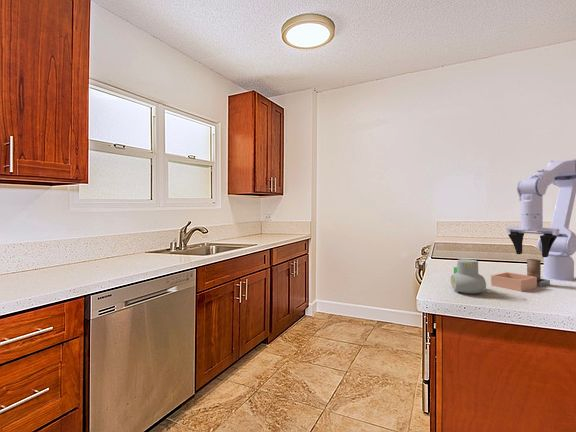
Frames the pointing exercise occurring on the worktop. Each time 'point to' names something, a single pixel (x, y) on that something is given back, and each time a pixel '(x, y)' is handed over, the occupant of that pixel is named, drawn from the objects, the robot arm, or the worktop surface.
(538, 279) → the walnut strut
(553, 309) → the worktop surface
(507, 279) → the terracotta bin
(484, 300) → the worktop surface
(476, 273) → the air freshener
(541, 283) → the metal socket
